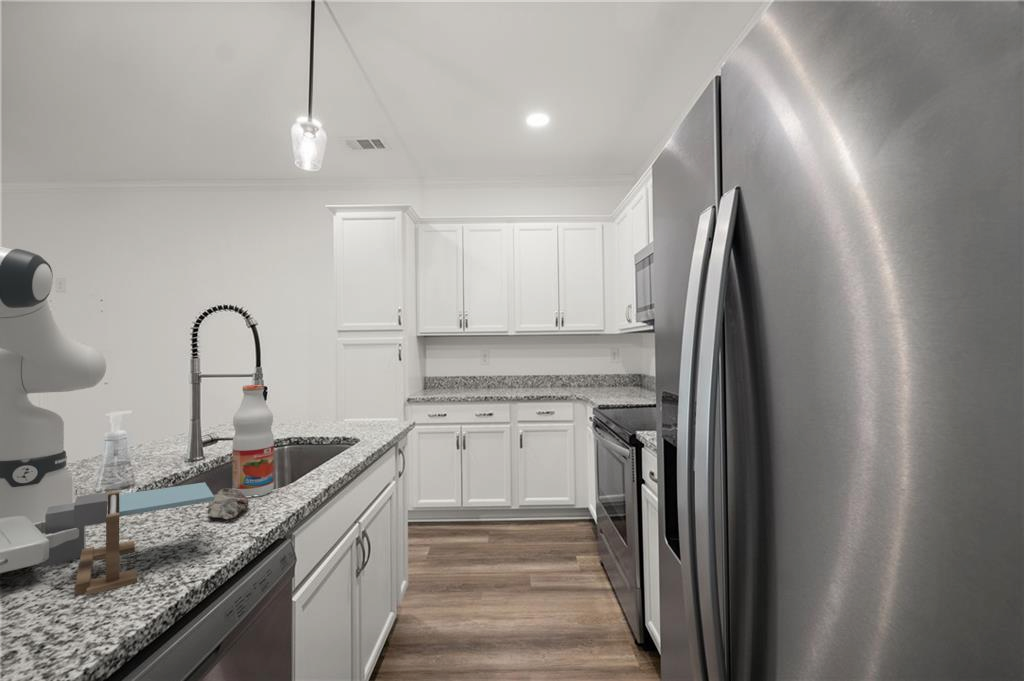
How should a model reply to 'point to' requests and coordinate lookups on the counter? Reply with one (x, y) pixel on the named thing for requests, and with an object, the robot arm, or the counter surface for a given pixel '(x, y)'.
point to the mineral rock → (227, 504)
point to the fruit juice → (253, 445)
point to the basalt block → (57, 522)
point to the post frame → (112, 559)
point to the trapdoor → (138, 502)
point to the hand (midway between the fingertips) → (72, 527)
